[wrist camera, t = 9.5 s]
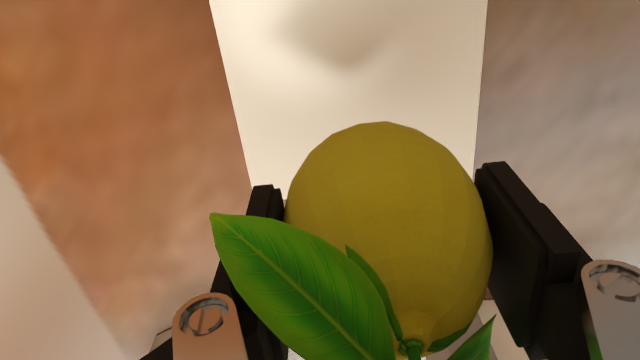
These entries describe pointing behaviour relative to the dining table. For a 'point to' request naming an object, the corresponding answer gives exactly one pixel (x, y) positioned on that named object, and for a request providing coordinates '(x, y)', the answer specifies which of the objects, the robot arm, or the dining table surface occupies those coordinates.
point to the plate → (348, 73)
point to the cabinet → (502, 347)
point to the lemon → (368, 251)
